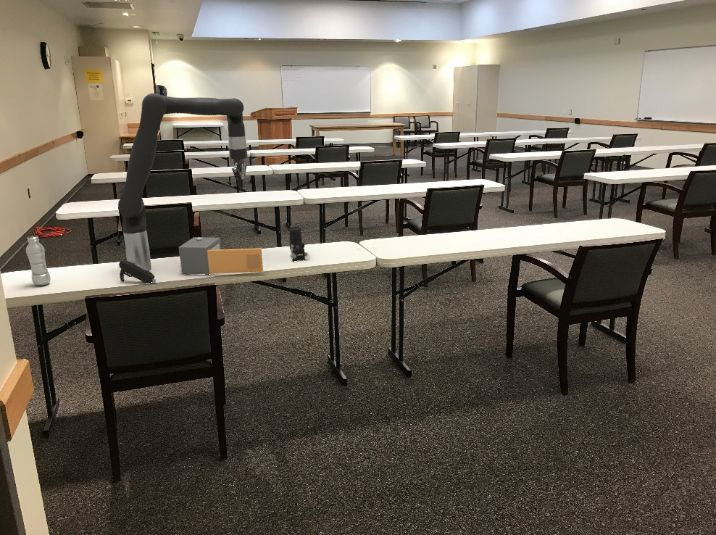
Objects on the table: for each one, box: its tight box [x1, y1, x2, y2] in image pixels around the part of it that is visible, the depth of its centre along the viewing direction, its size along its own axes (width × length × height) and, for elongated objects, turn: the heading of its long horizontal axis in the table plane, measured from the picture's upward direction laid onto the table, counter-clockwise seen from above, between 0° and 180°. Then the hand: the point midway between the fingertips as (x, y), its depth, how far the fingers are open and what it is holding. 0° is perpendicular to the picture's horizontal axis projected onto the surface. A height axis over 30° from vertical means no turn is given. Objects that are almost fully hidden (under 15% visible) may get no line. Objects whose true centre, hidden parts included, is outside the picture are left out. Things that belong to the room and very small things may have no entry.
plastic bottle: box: [25, 235, 51, 286], centre depth 223 cm, size 6×7×20 cm
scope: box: [288, 226, 309, 263], centre depth 253 cm, size 8×14×10 cm
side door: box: [207, 247, 264, 275], centre depth 232 cm, size 2×22×10 cm, turn 93°
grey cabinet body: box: [178, 236, 222, 276], centre depth 240 cm, size 14×16×13 cm
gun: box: [118, 259, 157, 284], centre depth 226 cm, size 3×16×10 cm, turn 79°
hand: (241, 187), depth 243 cm, fingers closed
